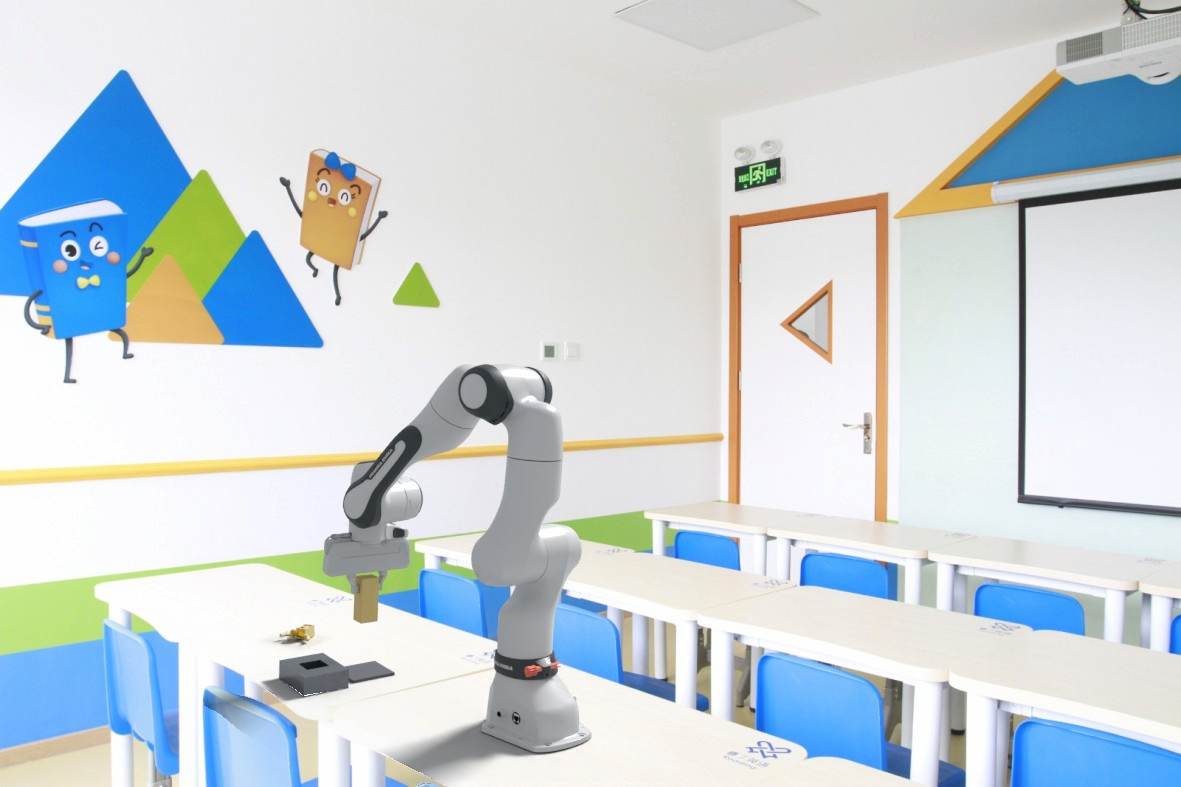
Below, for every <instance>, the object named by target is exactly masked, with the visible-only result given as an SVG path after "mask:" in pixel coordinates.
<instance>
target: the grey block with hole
mask: <svg viewBox="0 0 1181 787" xmlns="http://www.w3.org/2000/svg"><path fill="white" fill-rule="evenodd" d="M278 669H279V670H278V679H279V680H280V681H282V682H284V684H286V685H287V684H288V685H287V686H288V687H290V686H291V687H293V688H294V689H296V690H297V691H298V692H300V693H301V694H302V695H303V696H304V695H307V694H313V693H320V692H325V693H328V692H327V691H330V692H334V690H335V691H339V690H338V689H340V690H344V689H349V685H350V683H349V682H350V681H349V669H348V668H346V667H344V665H343V664H342V663H340V662H338V661H336V660H335V659H334V658H332V657H331V656H329V655H328V654H325V653H324V652H320V653H313V654H309V655H303V656H297V657H291V658H285V659H280V660H279V665H278ZM291 687H290V688H291ZM293 688H292V689H293ZM294 689H293V690H294ZM298 692H297V693H298ZM320 694H321V693H320ZM302 695H301V696H302ZM303 696H302V697H303Z"/></svg>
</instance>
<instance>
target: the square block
mask: <svg viewBox="0 0 1181 787" xmlns="http://www.w3.org/2000/svg"><path fill="white" fill-rule="evenodd" d="M354 581H355V583H356V584H358V585H360V593H356V594H353V621H356V622H357V623H359V624H361V625H362V624H367V623H375V622H378V619H379V618H378V617H379V616H378V615H379V614H378V612H379V591H380V590H379V576H377V575H374V574H372V573H369V574H367V573H365V574H357V575H356V579H354Z"/></svg>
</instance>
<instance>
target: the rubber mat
mask: <svg viewBox="0 0 1181 787" xmlns="http://www.w3.org/2000/svg"><path fill="white" fill-rule="evenodd" d="M343 666H344V665H343ZM344 667H346V668H348V669H349V682H351V684H357V683H358V684H359V683H362V682H366V681H367V682H368V681H372V680H376V679H380V678H381V679H382V678H387V677H392V676H395V671H393V670H391V668H388V667H386V666H385V665H382V664H381V663H379V662H378V661H376V660H372V661H371V660H370V661H367V662H366V661H365V662H361V663H355V664H351V665H350V664H349V665H345V666H344Z"/></svg>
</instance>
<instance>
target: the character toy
mask: <svg viewBox="0 0 1181 787" xmlns="http://www.w3.org/2000/svg"><path fill="white" fill-rule="evenodd" d="M315 634H316V633H315V624H308V623H304V624H302V625H299V626H298V627H296V628H295V629H291V630H290V632H282V633H279V637H280V638H284V637H286V640H291V639H294V638H296V639H297V640H304V641H305V642H308V641H310V639H311V638H314V636H315Z"/></svg>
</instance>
